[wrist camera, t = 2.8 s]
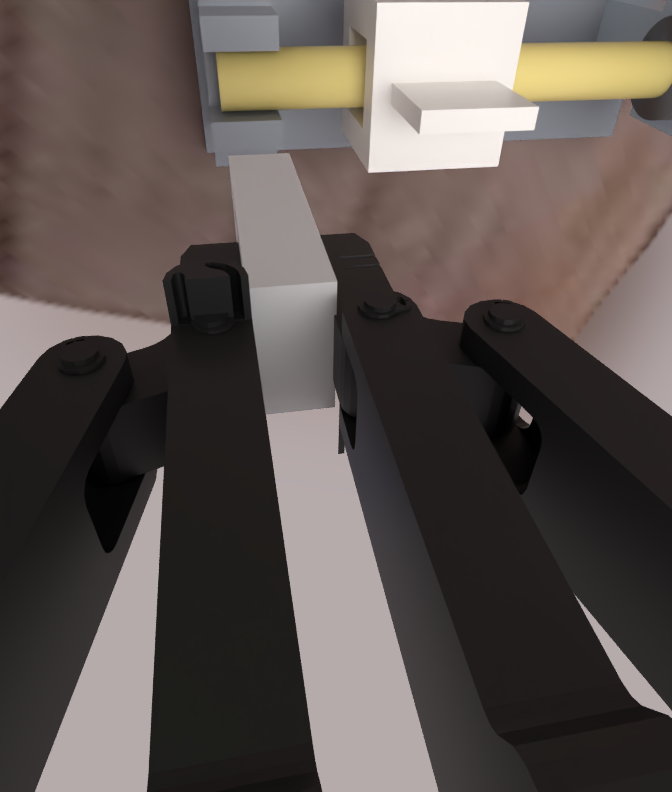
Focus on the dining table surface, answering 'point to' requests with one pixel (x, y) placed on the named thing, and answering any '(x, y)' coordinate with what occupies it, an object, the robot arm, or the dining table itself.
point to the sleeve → (436, 82)
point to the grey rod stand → (345, 70)
